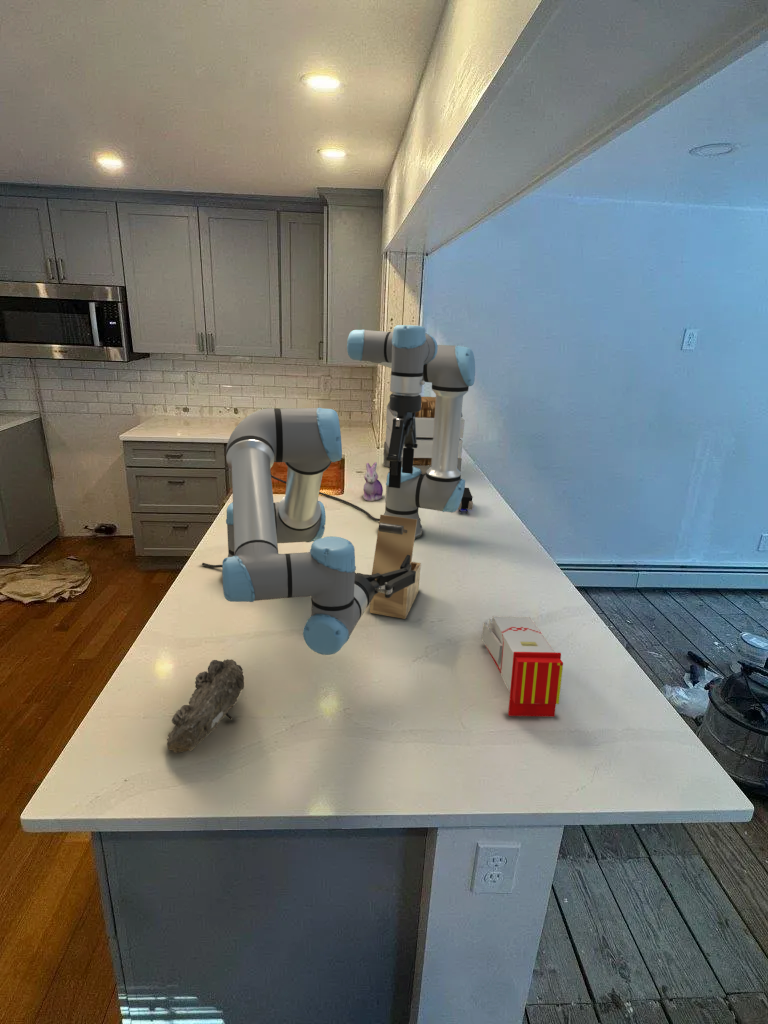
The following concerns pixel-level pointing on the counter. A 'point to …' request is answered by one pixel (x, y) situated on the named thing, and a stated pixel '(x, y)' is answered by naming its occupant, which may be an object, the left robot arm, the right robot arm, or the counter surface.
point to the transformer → (420, 434)
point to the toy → (525, 665)
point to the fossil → (206, 705)
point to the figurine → (372, 484)
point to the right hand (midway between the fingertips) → (401, 479)
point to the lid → (393, 543)
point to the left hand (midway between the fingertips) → (379, 555)
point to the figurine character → (466, 501)
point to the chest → (397, 598)
